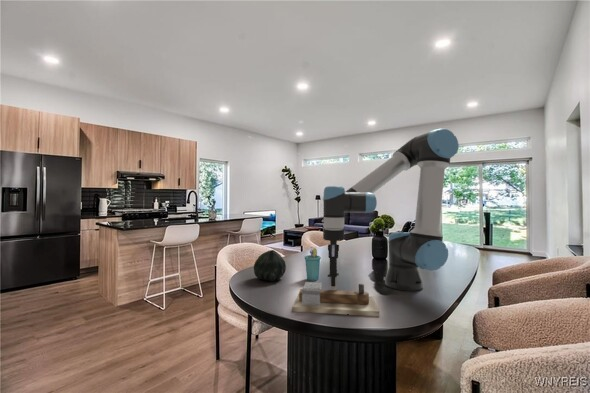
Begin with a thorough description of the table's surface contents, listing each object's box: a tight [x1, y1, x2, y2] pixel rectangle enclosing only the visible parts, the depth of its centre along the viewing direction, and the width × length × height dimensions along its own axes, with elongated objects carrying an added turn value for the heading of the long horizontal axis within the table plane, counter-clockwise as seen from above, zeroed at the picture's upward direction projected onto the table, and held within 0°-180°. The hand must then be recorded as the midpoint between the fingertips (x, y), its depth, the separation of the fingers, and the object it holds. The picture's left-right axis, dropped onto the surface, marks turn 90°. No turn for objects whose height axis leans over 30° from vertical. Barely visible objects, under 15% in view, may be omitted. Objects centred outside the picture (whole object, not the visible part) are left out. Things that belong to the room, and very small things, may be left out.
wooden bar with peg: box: [298, 283, 370, 305], centre depth 97 cm, size 24×5×6 cm, turn 81°
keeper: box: [302, 281, 323, 306], centre depth 98 cm, size 6×10×5 cm, turn 171°
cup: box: [304, 247, 322, 282], centre depth 131 cm, size 14×8×15 cm, turn 171°
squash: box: [253, 249, 287, 282], centre depth 131 cm, size 14×15×15 cm
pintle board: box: [292, 293, 380, 317], centre depth 97 cm, size 28×14×2 cm, turn 81°
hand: (333, 294), depth 100 cm, fingers closed
